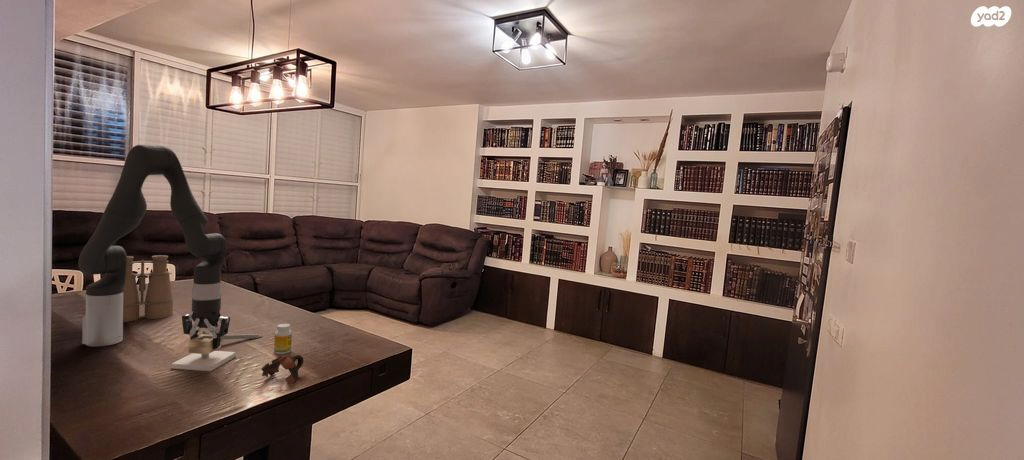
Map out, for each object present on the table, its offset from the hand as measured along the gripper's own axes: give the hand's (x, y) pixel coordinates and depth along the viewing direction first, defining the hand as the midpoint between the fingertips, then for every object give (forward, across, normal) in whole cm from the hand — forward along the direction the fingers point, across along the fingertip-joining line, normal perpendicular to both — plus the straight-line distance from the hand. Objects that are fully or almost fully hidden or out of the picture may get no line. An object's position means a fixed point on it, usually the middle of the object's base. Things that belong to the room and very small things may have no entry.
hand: (205, 347), depth 135 cm
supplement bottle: (+5, +18, +13) cm, 23 cm away
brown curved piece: (+5, +29, -7) cm, 30 cm away
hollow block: (+1, 0, 0) cm, 1 cm away
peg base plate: (+5, 0, 0) cm, 5 cm away
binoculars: (+5, -52, +38) cm, 65 cm away
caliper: (+5, -3, +18) cm, 19 cm away
